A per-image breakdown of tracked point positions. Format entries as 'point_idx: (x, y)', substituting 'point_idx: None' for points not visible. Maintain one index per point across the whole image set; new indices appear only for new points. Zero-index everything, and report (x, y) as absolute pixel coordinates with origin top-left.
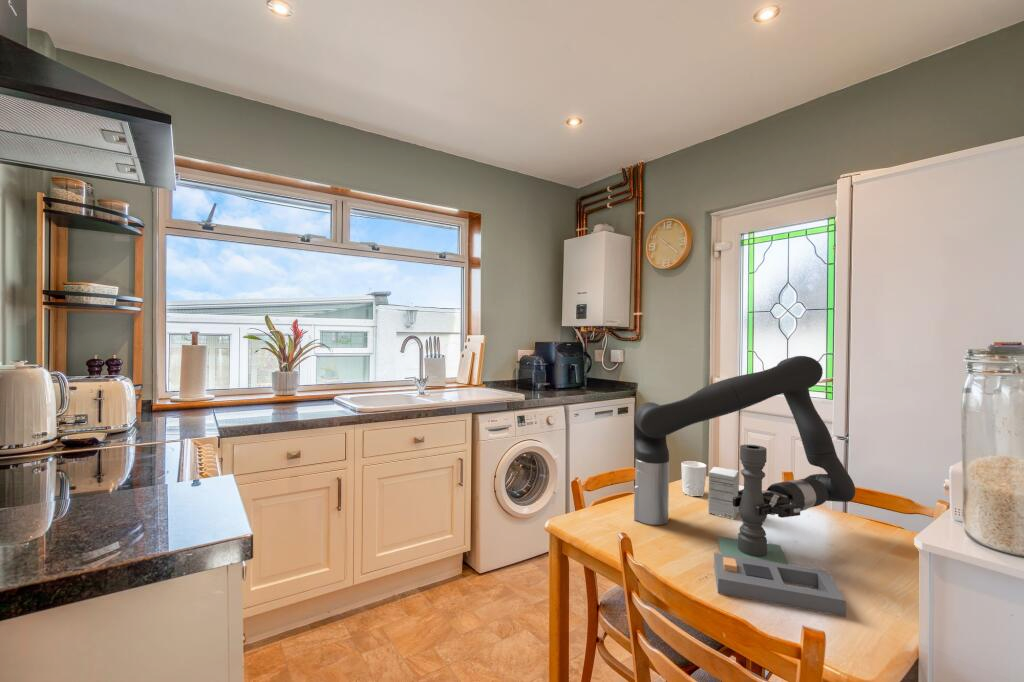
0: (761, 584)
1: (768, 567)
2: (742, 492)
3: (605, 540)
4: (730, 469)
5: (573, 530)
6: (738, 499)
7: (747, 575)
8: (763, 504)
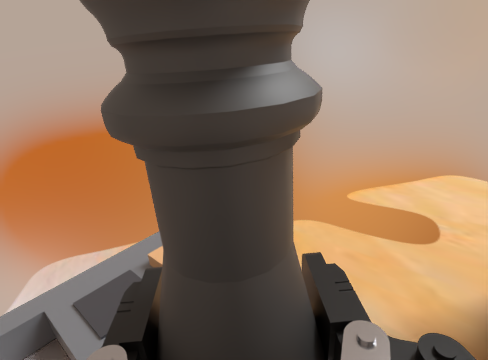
0: (90, 273)
1: (101, 337)
2: (421, 355)
3: (390, 204)
4: None
5: (432, 185)
6: (309, 277)
7: (127, 272)
8: (159, 326)
